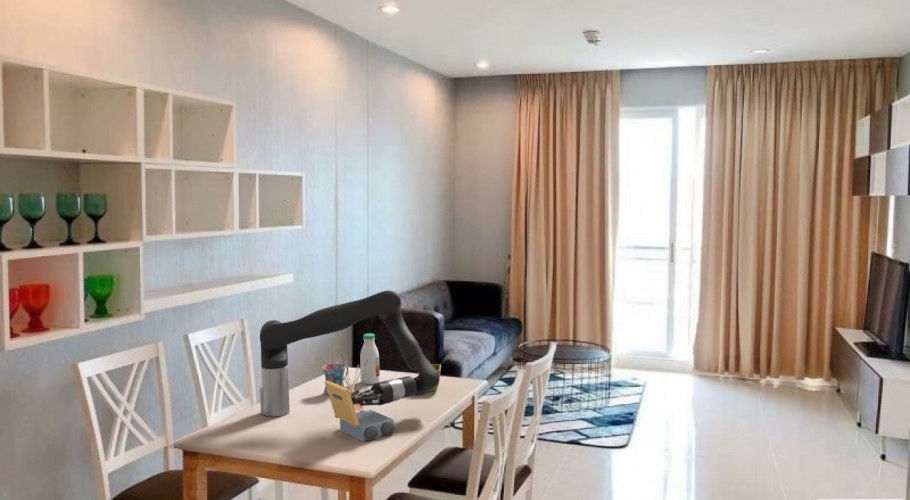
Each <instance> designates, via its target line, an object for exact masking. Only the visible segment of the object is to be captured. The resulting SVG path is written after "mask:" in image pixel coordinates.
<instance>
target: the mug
mask: <svg viewBox="0 0 910 500" xmlns="http://www.w3.org/2000/svg"><path fill="white" fill-rule="evenodd" d="M321 369H322V371H323V373H324V374H323V375H324V378H325V381H327V380H328V381H330V382H333V383H335V384H338V385H340V386H343V387H345V385H344V380H345V379H346V378H344V376H345V375H346V377H347V376H348V374H349V368H348V366H347V365H345V364H344V363H329V364H324V365H322V366H321ZM345 371H346V373H345ZM344 374H345V375H344ZM323 393H324V394H325V395H328V391H327V388H326V385H325V387H324V390H323Z"/></svg>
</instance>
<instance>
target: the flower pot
mask: <svg viewBox="0 0 910 500" xmlns="http://www.w3.org/2000/svg"><path fill="white" fill-rule="evenodd" d="M432 366H433V367H434V368H435V369H436V370H437V372H438V374H439V383H438V385H437V386H436V387H435V388H433V389H432V390H431V391H430V392H436V391H437V390H438V388H439V384H440V379H441V370H442V369H441V368H442V364H432ZM417 374H418V375H419V372H418V371H417ZM418 375H417V376H418Z"/></svg>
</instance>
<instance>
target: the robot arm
mask: <svg viewBox="0 0 910 500" xmlns="http://www.w3.org/2000/svg"><path fill="white" fill-rule="evenodd" d="M401 299H402V298H401V296H400V294H399V293H397V292H396V291H393V290H383V291H380V292H377V293H375V294H372V295H369V296H367V297H364V298H361V299H356V300H353V301H349V302H345V303H340V304H336V305H333V306H329V307H325V308H321V309H318V310H315V311H313V312H311V313H309V314H307V315H305V316H303V317H301V318H298V319H295V320H292V321H291V320H290V321H286V322H281V321H279V320H276V319H275V320H274V319H272V320H271V319H270V320H268V321H266V322H265V323H264V324H263V325H262V326H261V328H260V330H259V332H260V333H259V341H260V365H261V387H260V389H259V399H260V400H259V401H260V403H259V404H260V415H264V416H266V417H270V418H271V417H274V418H275V417H282V416H285V415H288V414H290V412H291V411H290V384H289V383H290V382H289V364H288V363H289V359H288V357H289V355H288V353H289V352H288V345H290V344H293V343H297V342H299V341H302V340H305V339H310V338H315V337H320V336H323V335H329V334H332V333H337V332H339V331H343V330H346V329H348V328H350V327H352V326H353V325H355V324H357V323H359V322H361V321H363V320H364V319H367V318H371V317H375V316H379V318H380V319H381V320H382V322H383V324H385V325H386V327H387V329H388V330H389V332H390V333H391V336H392V337H393V339H394V341H395V343H396V345H397V348H398V349H399V351H400V353H401V356H402V358H403V360H404V362H405V363H406V366H407V367H408V369H409V370H413V371H414V370H416V371H417V373H418V372H419V375H417V376H414V377H413V376H410V375H409V376H408V375H407V376H402V377H398V378H391V379H387V380H383V381H379V382H378V383H375V384H371V388H370V389H369V388H367V389H364V390H363V391H360V389H355V390H354V391H353V392H352V393H350V396H351V399H352V403H353V406H354V405H356V406H361V407H362V406H363V407H364V406H382V405H383V406H384V405H387V404H391V403H393V402H398V401H399V400H402V399H406V398H410V397H420V396H425V395H427V394H429V393H430V392H432V391H431V390H432V389H433V388H435V387H436V386H437V385H438V383H439V384H440V381H439V374H438V372H437V370H436V369H435V368H434V367H433V366H432V365H433V364H432V363H431V362H430V361H429V360H428V359H427V358H426V356H425V354H424V352H423V350H422V348H421V347H420V344H419V343H418V341H417V339H416V338H415V336H414V335H413V333H412V332H411V331H410V329H409V327H408V326H407V324H406V321H405V319H404V316H403V314H402V309H401V308H402V300H401ZM438 386H439V385H438Z"/></svg>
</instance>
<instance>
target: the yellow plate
mask: <svg viewBox="0 0 910 500" xmlns="http://www.w3.org/2000/svg"><path fill="white" fill-rule="evenodd" d="M324 385H325V386H326V388H327V391H328V394H327V395H328V397H329V401H330V404H331V406H332V410H333V413H334V417H335V418H336V419H339V420H340V419H342V420H344V421H346V422H348V423H350V424H352V425H354V426H356V427H357V428H358V429H361V426H360V425H359V422H358V418H357V415H356V413H357V412H356V409H355V407H354V405H353V403H352V399H351V393H350V391H349V388H347V387H345V386H344V387H343V386H340V385H338V384H335V383H333V382H330V381H328V380H327V381H326V380H325V381H324Z"/></svg>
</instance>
